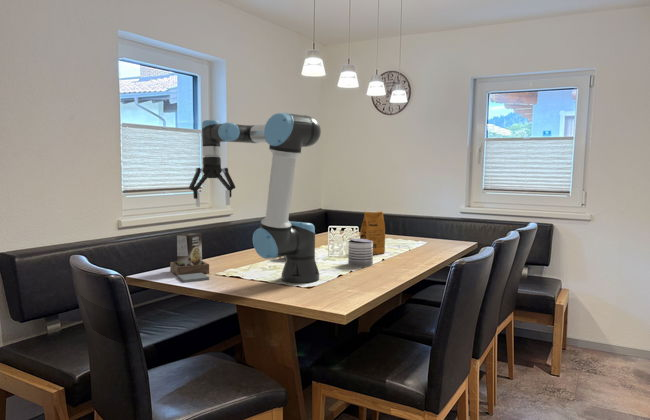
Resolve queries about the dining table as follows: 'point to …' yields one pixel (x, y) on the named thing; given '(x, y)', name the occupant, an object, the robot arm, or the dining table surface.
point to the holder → (189, 268)
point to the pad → (193, 277)
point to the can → (360, 252)
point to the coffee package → (374, 231)
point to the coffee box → (189, 249)
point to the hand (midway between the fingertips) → (213, 205)
